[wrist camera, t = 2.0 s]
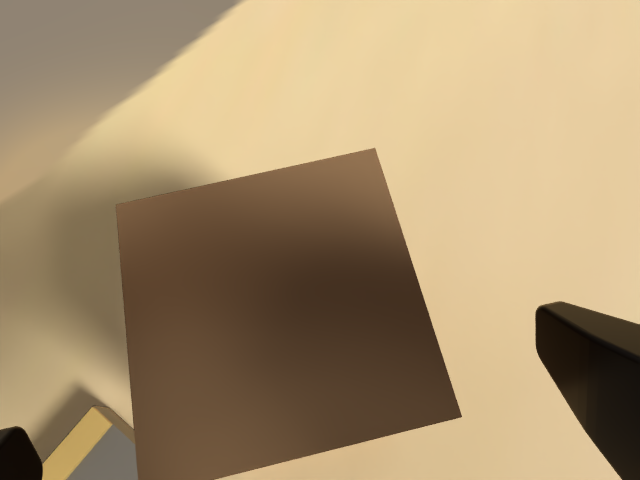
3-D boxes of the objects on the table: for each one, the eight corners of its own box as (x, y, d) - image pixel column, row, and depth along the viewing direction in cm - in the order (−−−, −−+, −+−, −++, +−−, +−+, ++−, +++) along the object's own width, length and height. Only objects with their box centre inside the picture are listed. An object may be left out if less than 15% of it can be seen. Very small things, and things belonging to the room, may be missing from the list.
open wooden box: (397, 429, 20) (462, 416, 9) (244, 467, 19) (139, 498, 9) (357, 284, 22) (374, 148, 12) (220, 316, 22) (116, 204, 11)
